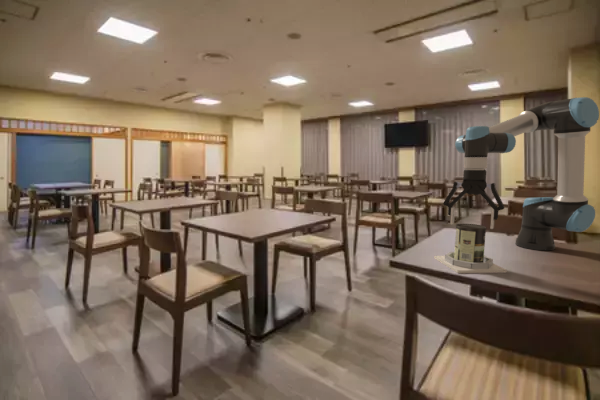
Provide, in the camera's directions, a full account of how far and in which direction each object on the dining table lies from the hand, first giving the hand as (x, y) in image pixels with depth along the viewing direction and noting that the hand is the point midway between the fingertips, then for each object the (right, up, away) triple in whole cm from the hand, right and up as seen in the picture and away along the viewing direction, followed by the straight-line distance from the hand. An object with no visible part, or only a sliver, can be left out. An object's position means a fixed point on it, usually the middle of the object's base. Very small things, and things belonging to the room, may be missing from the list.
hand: (471, 226), depth 129 cm
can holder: (-1, -15, +2) cm, 15 cm away
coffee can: (0, -14, +2) cm, 14 cm away
